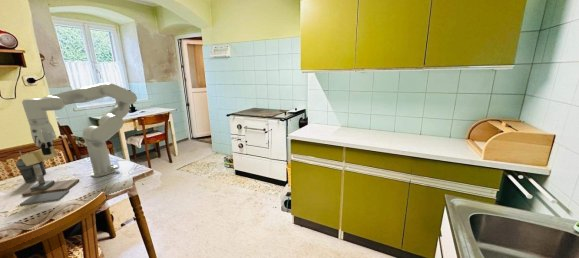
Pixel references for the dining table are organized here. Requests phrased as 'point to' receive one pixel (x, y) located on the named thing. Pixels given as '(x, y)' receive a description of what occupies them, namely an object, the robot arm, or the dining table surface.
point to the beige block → (38, 156)
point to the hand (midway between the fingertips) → (49, 153)
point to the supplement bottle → (42, 167)
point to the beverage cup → (26, 171)
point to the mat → (44, 198)
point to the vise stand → (48, 184)
